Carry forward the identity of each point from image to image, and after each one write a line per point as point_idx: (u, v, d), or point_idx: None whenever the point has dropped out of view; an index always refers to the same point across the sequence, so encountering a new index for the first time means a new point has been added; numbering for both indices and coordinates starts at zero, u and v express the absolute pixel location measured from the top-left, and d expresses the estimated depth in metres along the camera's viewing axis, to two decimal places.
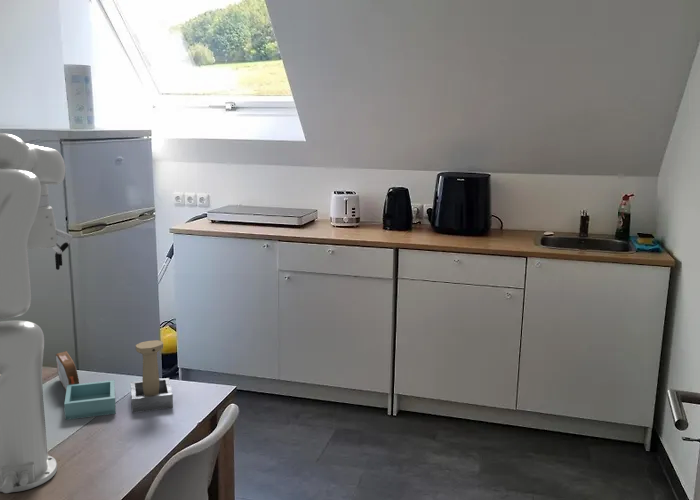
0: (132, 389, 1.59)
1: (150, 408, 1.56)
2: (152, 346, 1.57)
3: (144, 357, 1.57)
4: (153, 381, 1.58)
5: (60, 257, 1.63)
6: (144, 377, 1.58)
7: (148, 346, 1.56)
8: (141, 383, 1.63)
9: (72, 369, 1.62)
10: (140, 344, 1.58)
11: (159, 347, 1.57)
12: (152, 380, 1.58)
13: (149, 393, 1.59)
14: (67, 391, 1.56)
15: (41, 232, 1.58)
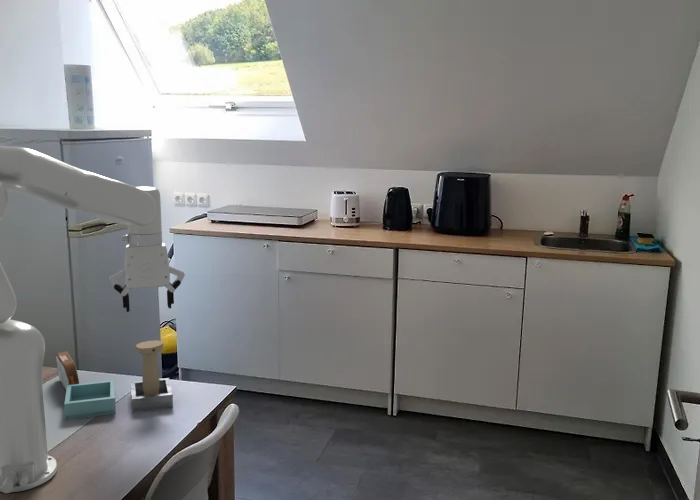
0: (132, 389, 1.59)
1: (150, 408, 1.56)
2: (152, 346, 1.57)
3: (144, 357, 1.57)
4: (153, 381, 1.58)
5: (172, 295, 1.57)
6: (144, 377, 1.58)
7: (148, 346, 1.56)
8: (141, 383, 1.63)
9: (72, 369, 1.62)
10: (140, 344, 1.58)
11: (159, 347, 1.57)
12: (152, 380, 1.58)
13: (149, 393, 1.59)
14: (67, 391, 1.56)
15: (155, 271, 1.52)
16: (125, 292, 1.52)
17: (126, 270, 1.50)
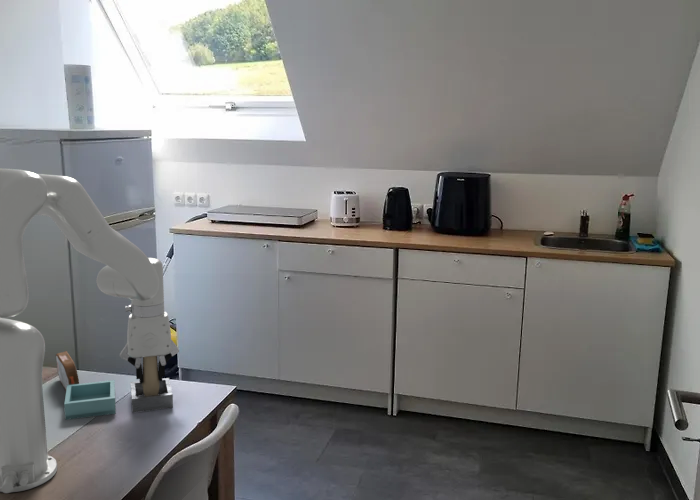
0: (132, 389, 1.59)
1: (150, 408, 1.56)
2: None
3: (144, 357, 1.57)
4: (153, 381, 1.58)
5: (163, 368, 1.59)
6: (144, 377, 1.58)
7: None
8: (141, 383, 1.63)
9: (72, 369, 1.62)
10: None
11: None
12: (152, 380, 1.58)
13: (149, 393, 1.59)
14: (67, 391, 1.56)
15: (157, 340, 1.56)
16: (138, 364, 1.57)
17: (129, 340, 1.54)
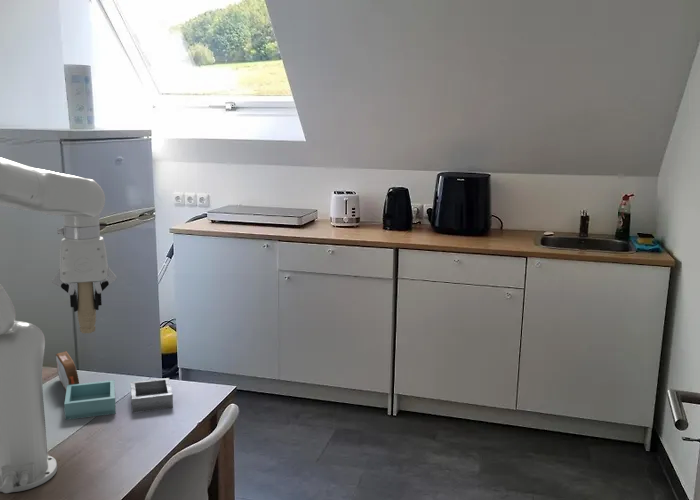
0: (132, 389, 1.59)
1: (150, 408, 1.56)
2: None
3: (78, 283, 1.49)
4: (88, 310, 1.50)
5: (99, 296, 1.52)
6: (79, 305, 1.50)
7: None
8: (141, 383, 1.63)
9: (72, 369, 1.62)
10: None
11: None
12: (87, 308, 1.50)
13: (84, 322, 1.51)
14: (67, 391, 1.56)
15: (92, 265, 1.48)
16: (72, 290, 1.49)
17: (61, 264, 1.46)
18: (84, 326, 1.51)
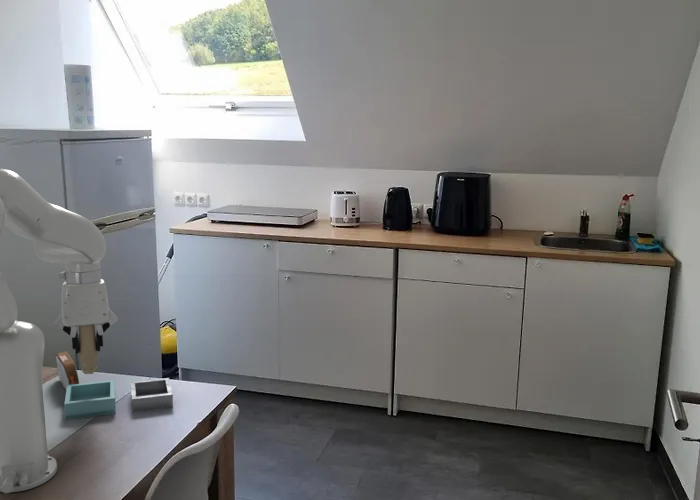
0: (132, 389, 1.59)
1: (150, 408, 1.56)
2: None
3: (80, 326, 1.52)
4: (90, 351, 1.53)
5: (101, 338, 1.54)
6: (80, 347, 1.52)
7: None
8: (141, 383, 1.63)
9: (72, 369, 1.62)
10: None
11: None
12: (88, 349, 1.52)
13: (86, 363, 1.53)
14: (67, 391, 1.56)
15: (93, 308, 1.50)
16: (73, 333, 1.51)
17: (63, 308, 1.48)
18: (86, 367, 1.54)
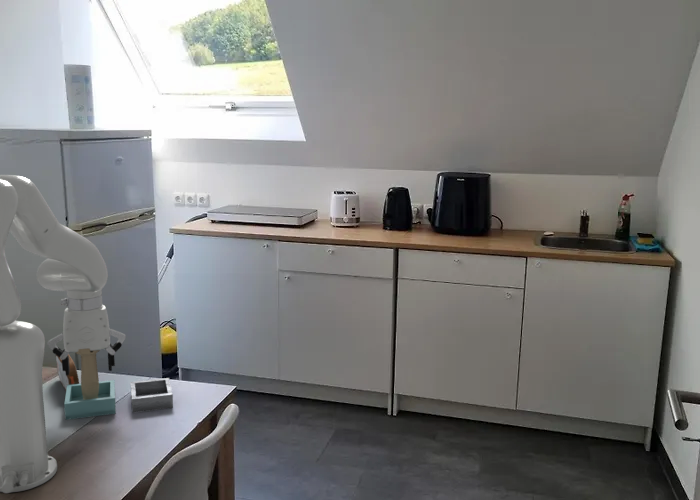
0: (132, 389, 1.59)
1: (150, 408, 1.56)
2: None
3: (82, 358, 1.53)
4: (92, 383, 1.54)
5: (113, 358, 1.56)
6: (82, 378, 1.54)
7: None
8: (141, 383, 1.63)
9: (72, 369, 1.62)
10: None
11: None
12: (90, 381, 1.54)
13: (87, 395, 1.54)
14: (67, 391, 1.56)
15: (95, 334, 1.51)
16: (64, 356, 1.51)
17: (64, 334, 1.49)
18: (87, 398, 1.55)
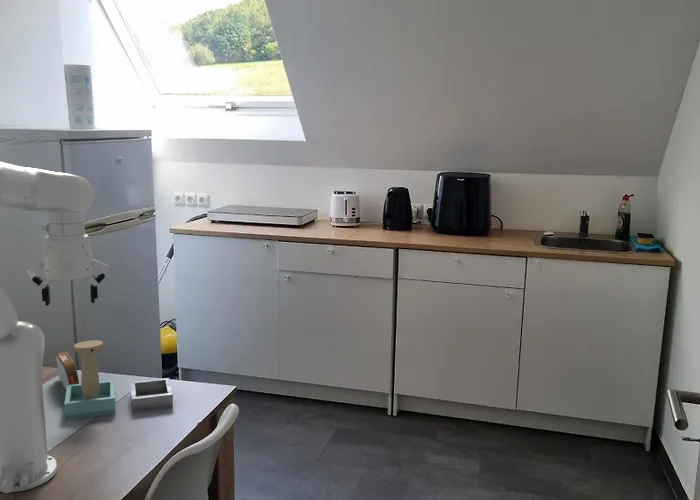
0: (132, 389, 1.59)
1: (150, 408, 1.56)
2: (91, 346, 1.53)
3: (82, 357, 1.53)
4: (92, 382, 1.54)
5: (96, 289, 1.50)
6: (82, 378, 1.54)
7: (87, 346, 1.52)
8: (141, 383, 1.63)
9: (72, 369, 1.62)
10: (79, 344, 1.54)
11: (98, 347, 1.53)
12: (90, 381, 1.54)
13: (88, 394, 1.54)
14: (67, 391, 1.56)
15: (76, 262, 1.45)
16: (44, 285, 1.45)
17: (44, 261, 1.44)
18: (88, 398, 1.55)
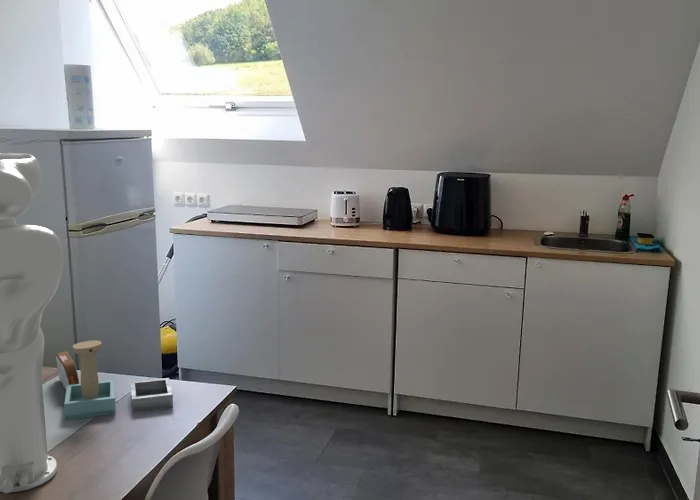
0: (132, 389, 1.59)
1: (150, 408, 1.56)
2: (89, 346, 1.52)
3: (81, 358, 1.53)
4: (91, 383, 1.54)
5: None
6: (82, 378, 1.54)
7: (85, 346, 1.52)
8: (141, 383, 1.63)
9: (72, 369, 1.62)
10: (77, 344, 1.53)
11: (97, 347, 1.53)
12: (90, 381, 1.54)
13: (87, 395, 1.54)
14: (67, 391, 1.56)
15: None
16: None
17: None
18: (87, 398, 1.55)
